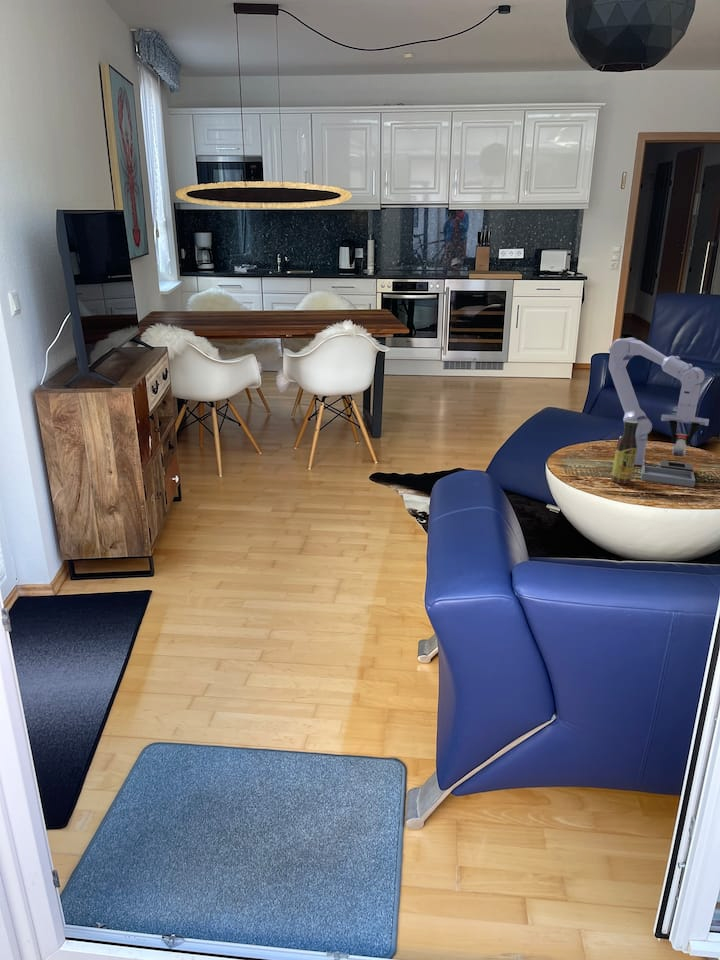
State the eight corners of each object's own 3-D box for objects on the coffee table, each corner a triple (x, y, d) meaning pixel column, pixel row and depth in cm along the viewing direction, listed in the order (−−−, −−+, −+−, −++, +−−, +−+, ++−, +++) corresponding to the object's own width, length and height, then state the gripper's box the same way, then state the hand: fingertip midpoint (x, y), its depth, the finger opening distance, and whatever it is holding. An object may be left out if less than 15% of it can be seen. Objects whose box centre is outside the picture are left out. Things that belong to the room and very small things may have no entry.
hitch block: (659, 472, 245) (661, 465, 245) (659, 467, 252) (660, 460, 252) (691, 477, 242) (693, 469, 241) (690, 471, 249) (691, 464, 248)
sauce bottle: (621, 485, 229) (630, 424, 223) (606, 480, 234) (615, 420, 228) (635, 483, 232) (645, 423, 226) (620, 478, 237) (630, 418, 231)
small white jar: (672, 455, 244) (675, 435, 242) (671, 452, 248) (675, 433, 246) (685, 457, 243) (688, 437, 241) (684, 454, 247) (688, 434, 244)
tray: (640, 479, 236) (641, 473, 235) (641, 471, 246) (642, 465, 245) (694, 487, 231) (695, 480, 230) (692, 478, 241) (693, 471, 240)
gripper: (664, 403, 239) (657, 443, 243) (712, 408, 234) (704, 449, 238) (664, 400, 245) (657, 439, 249) (710, 405, 241) (703, 444, 245)
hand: (680, 443), depth 244 cm, fingers closed on small white jar, 4 cm apart
